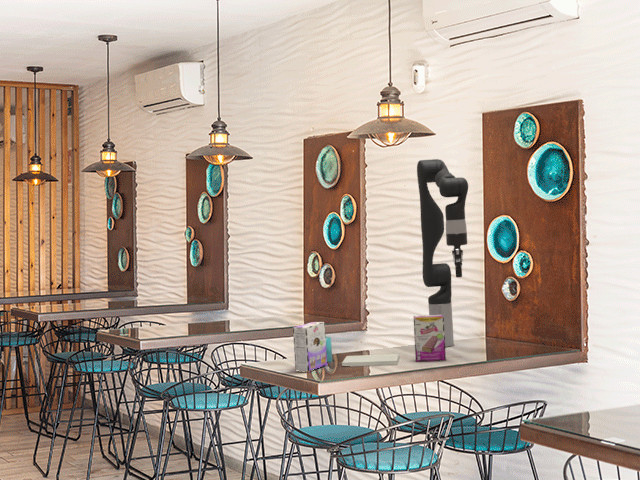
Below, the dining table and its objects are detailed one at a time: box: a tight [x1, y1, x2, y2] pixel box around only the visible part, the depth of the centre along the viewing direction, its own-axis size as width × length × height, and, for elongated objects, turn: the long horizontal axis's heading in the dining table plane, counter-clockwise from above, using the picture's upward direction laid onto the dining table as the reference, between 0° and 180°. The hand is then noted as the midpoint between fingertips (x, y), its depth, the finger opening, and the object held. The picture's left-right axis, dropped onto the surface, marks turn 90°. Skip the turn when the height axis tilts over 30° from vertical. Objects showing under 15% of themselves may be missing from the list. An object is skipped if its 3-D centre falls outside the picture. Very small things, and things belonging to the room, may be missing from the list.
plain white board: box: [341, 353, 400, 367], centre depth 306 cm, size 14×20×2 cm
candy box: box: [292, 321, 328, 371], centre depth 301 cm, size 14×6×16 cm, turn 150°
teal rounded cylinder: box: [326, 336, 333, 363], centre depth 315 cm, size 7×7×9 cm
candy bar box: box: [413, 314, 447, 362], centre depth 303 cm, size 11×5×16 cm, turn 84°
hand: (458, 276), depth 302 cm, fingers open, 8 cm apart
